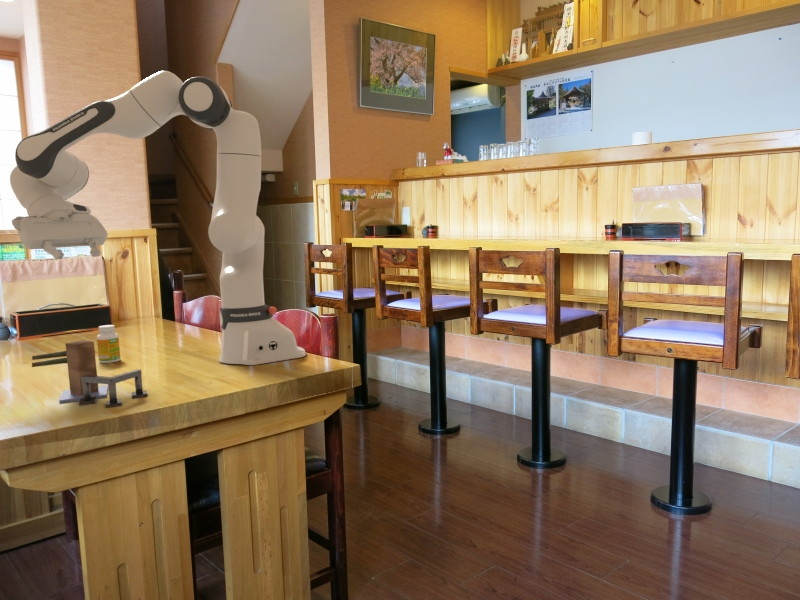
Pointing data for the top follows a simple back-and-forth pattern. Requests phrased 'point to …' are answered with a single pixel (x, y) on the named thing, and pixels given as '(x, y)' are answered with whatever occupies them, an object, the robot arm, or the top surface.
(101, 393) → the pad
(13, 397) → the top surface
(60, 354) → the miniature torii gate
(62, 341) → the top surface
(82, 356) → the walnut peg
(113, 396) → the bent rail on posts
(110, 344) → the supplement bottle
